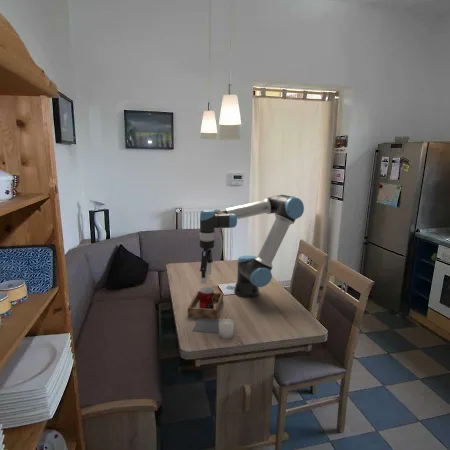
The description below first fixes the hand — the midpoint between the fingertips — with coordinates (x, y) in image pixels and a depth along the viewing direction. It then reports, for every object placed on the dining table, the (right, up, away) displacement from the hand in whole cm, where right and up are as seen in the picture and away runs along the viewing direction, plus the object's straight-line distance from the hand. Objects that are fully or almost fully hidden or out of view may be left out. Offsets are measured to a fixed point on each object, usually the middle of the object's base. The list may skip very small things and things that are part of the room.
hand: (206, 278), depth 169 cm
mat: (+1, -20, -15) cm, 25 cm away
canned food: (0, -17, +3) cm, 18 cm away
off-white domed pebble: (+10, -22, -22) cm, 33 cm away
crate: (0, -17, +3) cm, 17 cm away
